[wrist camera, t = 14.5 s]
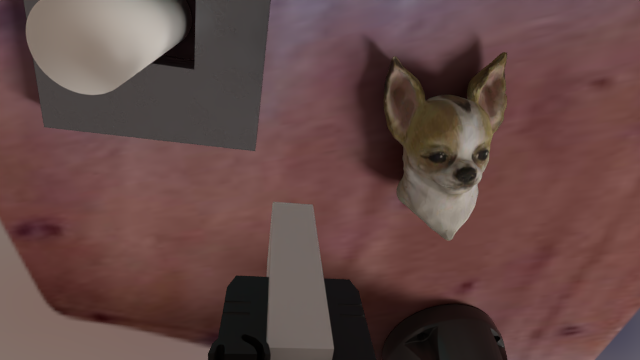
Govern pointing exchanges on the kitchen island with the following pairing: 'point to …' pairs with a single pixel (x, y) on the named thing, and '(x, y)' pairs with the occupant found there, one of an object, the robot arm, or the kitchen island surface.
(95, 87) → the white tapered capsule
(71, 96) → the block
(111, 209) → the kitchen island surface
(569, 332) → the kitchen island surface
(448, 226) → the ceramic sculpture
